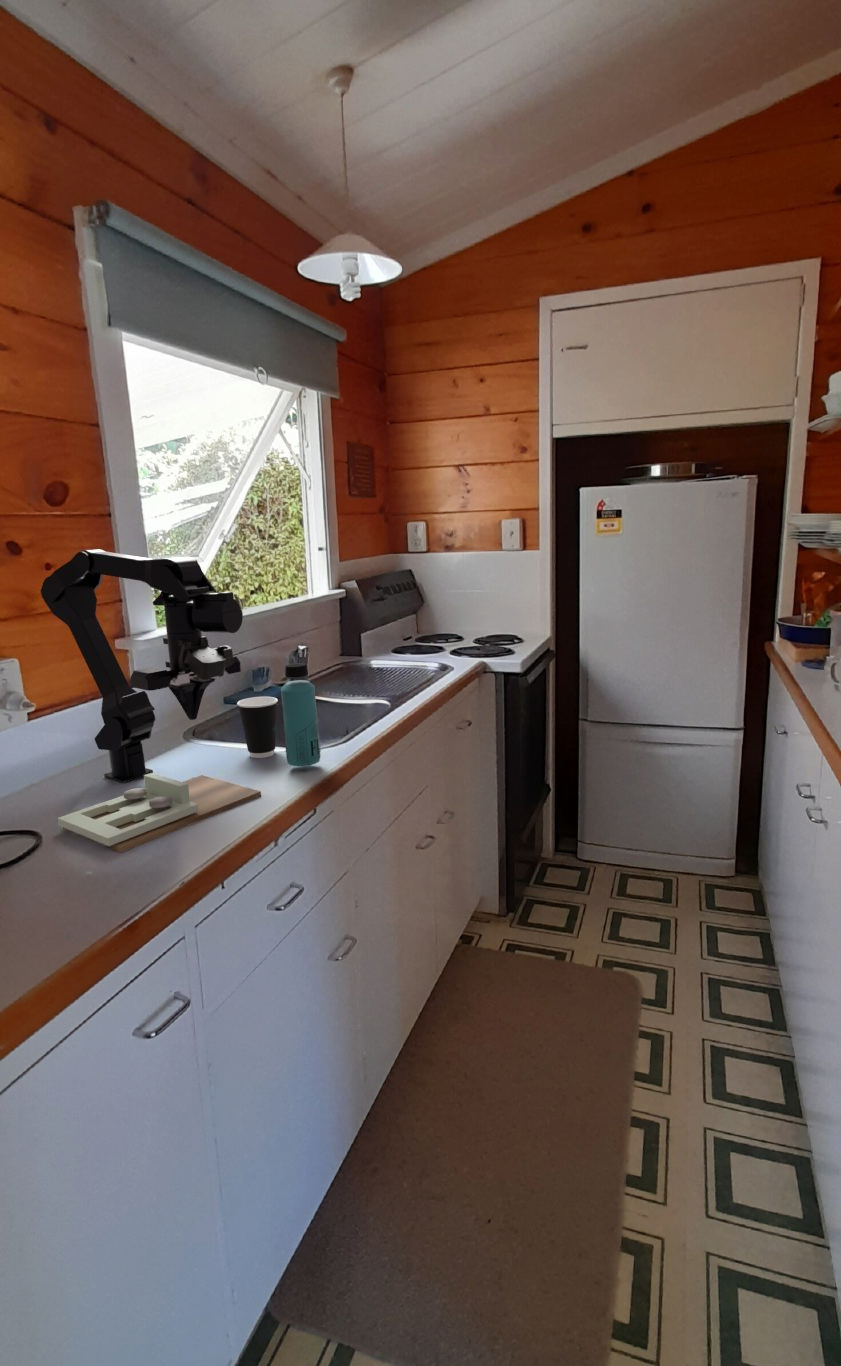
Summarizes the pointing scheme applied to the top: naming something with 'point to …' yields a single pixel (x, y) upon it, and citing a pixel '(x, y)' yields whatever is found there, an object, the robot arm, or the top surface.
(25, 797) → the top surface
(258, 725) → the dixie cup
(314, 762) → the beverage bottle
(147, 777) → the sage panel
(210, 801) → the walnut board
